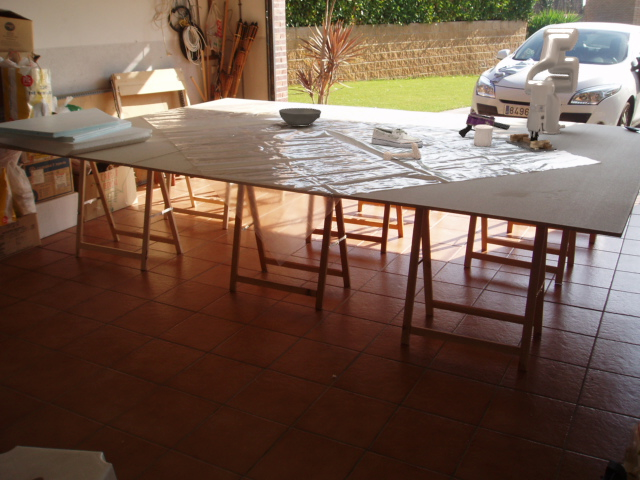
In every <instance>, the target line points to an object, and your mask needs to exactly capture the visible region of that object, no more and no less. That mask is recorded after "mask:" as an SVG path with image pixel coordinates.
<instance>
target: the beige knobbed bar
mask: <svg viewBox="0 0 640 480" xmlns="http://www.w3.org/2000/svg"><path fill="white" fill-rule="evenodd" d="M404 143H412V146H411V147H412V148H411V151H412V152H402V153H392V152H391V151H389V150H387V151H385V152H384V153H383V161H391V160H392V158H399V159H400V158H403V159H414V160H419V159H421V158H422V154H421V152H420V149H419V147H418V145H417V144H416V143H414V142H404ZM400 144H402V143H400Z"/></svg>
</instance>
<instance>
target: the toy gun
mask: <svg viewBox="0 0 640 480" xmlns="http://www.w3.org/2000/svg"><path fill="white" fill-rule="evenodd" d="M495 120H496V118H495V115H490V116H489V115H488V116H487V115H484V114H480V113H477V111H472V112H470V113H468V114H467V118H466V122H465V125H466V126H465V127H464V128H462V129H460V130H458V135H460V137H462V138H466V135H467V134H468V133H469V132H470V131H474V132H475V126H476V125H489V126H493V128H497V129H499V130H505V131H508V130H509V129H510V128H511V124H506V123H502V122H498V121H495Z"/></svg>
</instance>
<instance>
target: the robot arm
mask: <svg viewBox="0 0 640 480" xmlns="http://www.w3.org/2000/svg"><path fill="white" fill-rule="evenodd" d="M542 37H543V38H542V39H543V43H542V50H541V52H540V53H541V54H540V58H539V61H538V62H537V63H536V64H534V65H533V66H532V67H531V68H530V70H529V71H528V73H527V75H526V79H525V82H524V83H525V84H524V89H523V90H524V93H525V94H526V95H527V96H530V103H529V111H528V114H527V118H526V129H527V132H529V138H530V144H531V141H539V139H538V138H539V137H540V135H544V134H545V135H558V134H561V129H566V124H559V122H560V114H561V107H562V100H561V97H560V96H559V94H566V95H567V94H568V95H571V94H574V93H575V92H577V88H578V82H579V74H580V71H579V70H580V59H579V58H578V57H576V56H567V55H566V52H571V51H573V50H574V48H575V46H576V44H577V42H578V41H579V37H580V31H579V30H578V28H576V27H549V28H546V29H545V30H544V31H543V34H542ZM544 71H548V73H549V74H551V75H549V76H548V75H547V76H546V77H545V78H544V80H543V79H542V80H541V79H534V78H535V76H537V75H538V74H540V73H542V72H544Z"/></svg>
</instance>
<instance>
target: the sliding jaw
mask: <svg viewBox="0 0 640 480" xmlns="http://www.w3.org/2000/svg"><path fill="white" fill-rule="evenodd" d="M544 143H547V144H550V145H551V141H550V140H549V139H544V140H542V139H541V140H539V139H538V141H531V144H530V147H532V148H538V147H542V148H543V144H544Z"/></svg>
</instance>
